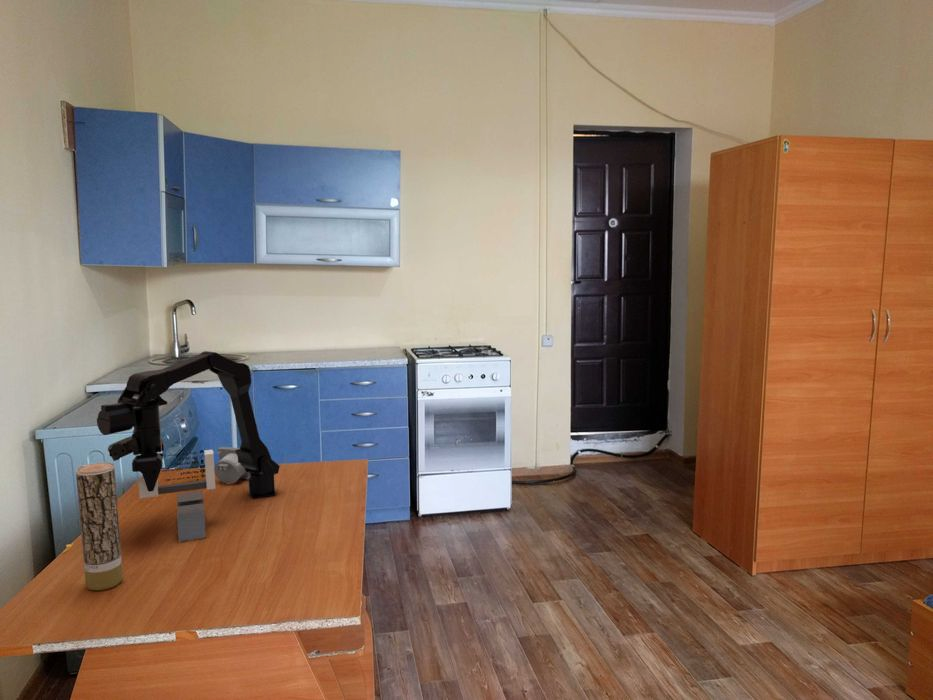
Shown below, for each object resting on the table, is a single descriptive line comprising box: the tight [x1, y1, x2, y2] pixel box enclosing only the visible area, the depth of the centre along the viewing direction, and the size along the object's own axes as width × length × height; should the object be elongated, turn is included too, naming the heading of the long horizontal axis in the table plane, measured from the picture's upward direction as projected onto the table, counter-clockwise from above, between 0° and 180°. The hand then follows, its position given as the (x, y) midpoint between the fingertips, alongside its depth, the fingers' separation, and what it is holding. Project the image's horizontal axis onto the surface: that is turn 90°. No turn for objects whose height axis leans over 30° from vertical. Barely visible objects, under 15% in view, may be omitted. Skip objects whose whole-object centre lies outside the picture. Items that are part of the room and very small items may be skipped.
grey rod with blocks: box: [138, 449, 216, 499], centre depth 163 cm, size 17×4×9 cm, turn 113°
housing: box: [176, 490, 207, 542], centre depth 166 cm, size 6×16×6 cm, turn 23°
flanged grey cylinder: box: [161, 446, 250, 485], centre depth 198 cm, size 27×11×10 cm, turn 112°
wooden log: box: [75, 462, 124, 591], centre depth 136 cm, size 7×7×25 cm
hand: (151, 488), depth 161 cm, fingers closed on grey rod with blocks, 4 cm apart
